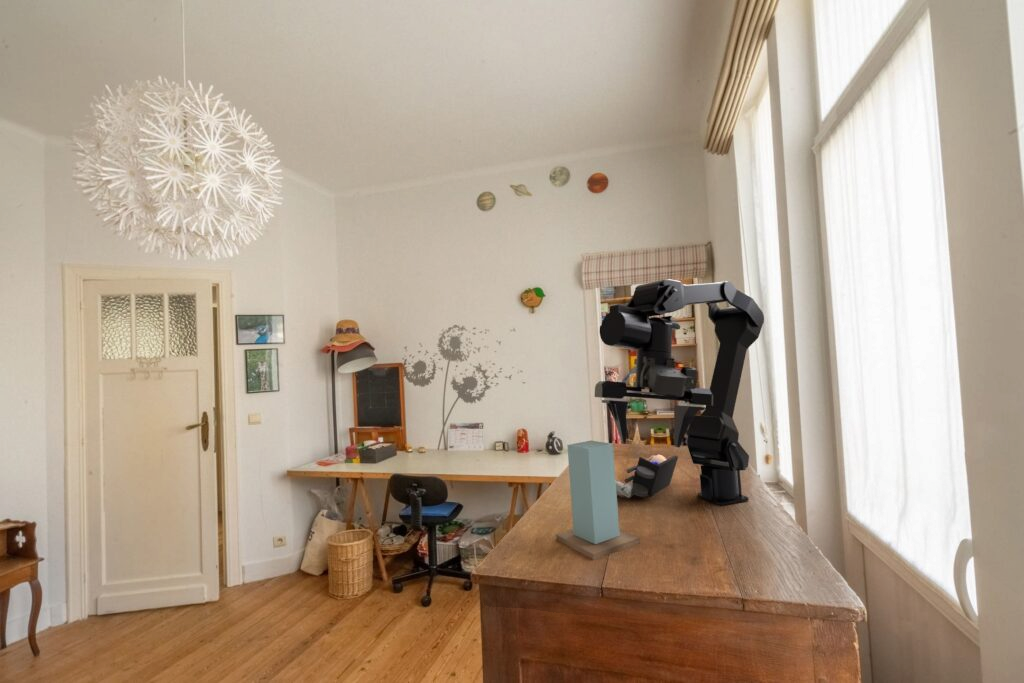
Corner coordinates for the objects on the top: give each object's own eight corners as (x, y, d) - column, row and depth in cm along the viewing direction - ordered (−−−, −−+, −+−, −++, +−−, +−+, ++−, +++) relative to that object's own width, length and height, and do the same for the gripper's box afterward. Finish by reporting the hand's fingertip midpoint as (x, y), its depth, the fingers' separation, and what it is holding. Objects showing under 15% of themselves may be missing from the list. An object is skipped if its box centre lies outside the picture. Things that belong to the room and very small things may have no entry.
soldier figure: (622, 490, 97) (653, 486, 86) (612, 509, 94) (642, 507, 84) (594, 467, 97) (622, 460, 86) (583, 485, 95) (610, 480, 84)
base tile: (599, 530, 75) (599, 520, 75) (639, 547, 67) (639, 537, 67) (556, 544, 70) (555, 534, 71) (594, 564, 63) (593, 554, 63)
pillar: (597, 526, 73) (591, 440, 73) (619, 535, 68) (612, 443, 69) (573, 534, 70) (567, 444, 71) (595, 544, 66) (588, 448, 67)
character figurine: (620, 500, 88) (654, 482, 99) (654, 504, 83) (687, 484, 94) (615, 460, 89) (650, 446, 100) (648, 461, 84) (681, 447, 95)
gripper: (614, 343, 68) (609, 447, 66) (732, 353, 69) (730, 455, 67) (596, 350, 79) (591, 439, 77) (698, 358, 80) (696, 446, 78)
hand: (650, 445), depth 75 cm, fingers open, 9 cm apart
